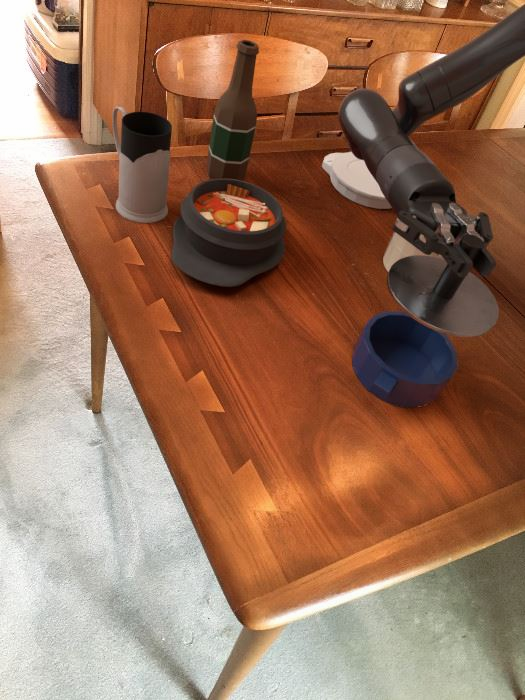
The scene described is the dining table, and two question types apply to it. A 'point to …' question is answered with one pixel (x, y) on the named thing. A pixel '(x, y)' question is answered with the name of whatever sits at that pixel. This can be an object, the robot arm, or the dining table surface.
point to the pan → (403, 360)
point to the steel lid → (444, 293)
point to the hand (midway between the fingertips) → (478, 270)
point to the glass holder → (143, 165)
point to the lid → (354, 180)
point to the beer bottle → (234, 119)
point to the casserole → (228, 232)
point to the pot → (401, 250)
